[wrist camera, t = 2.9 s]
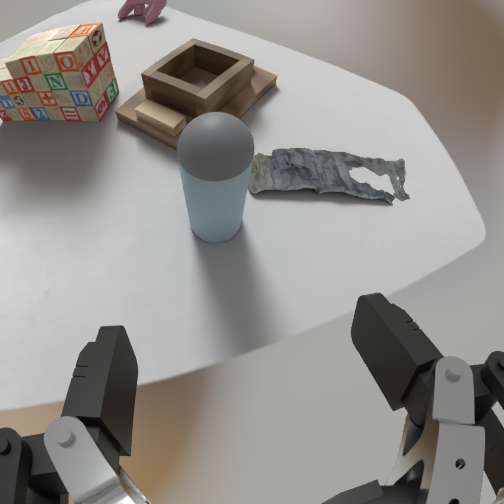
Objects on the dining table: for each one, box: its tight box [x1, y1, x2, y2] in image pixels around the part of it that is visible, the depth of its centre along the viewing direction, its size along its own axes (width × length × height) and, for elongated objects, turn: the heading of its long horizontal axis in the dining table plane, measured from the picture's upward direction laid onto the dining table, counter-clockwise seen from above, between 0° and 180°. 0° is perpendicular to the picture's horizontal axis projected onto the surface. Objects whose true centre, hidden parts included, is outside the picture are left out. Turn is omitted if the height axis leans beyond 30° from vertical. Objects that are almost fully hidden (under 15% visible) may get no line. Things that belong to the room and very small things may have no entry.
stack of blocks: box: [0, 22, 119, 122], centre depth 26 cm, size 21×6×12 cm, turn 79°
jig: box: [115, 39, 277, 150], centre depth 31 cm, size 17×13×6 cm
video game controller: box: [118, 0, 166, 24], centre depth 39 cm, size 10×5×7 cm, turn 58°
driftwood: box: [248, 148, 410, 205], centre depth 32 cm, size 21×7×2 cm, turn 90°
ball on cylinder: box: [177, 112, 254, 243], centre depth 22 cm, size 5×5×14 cm
